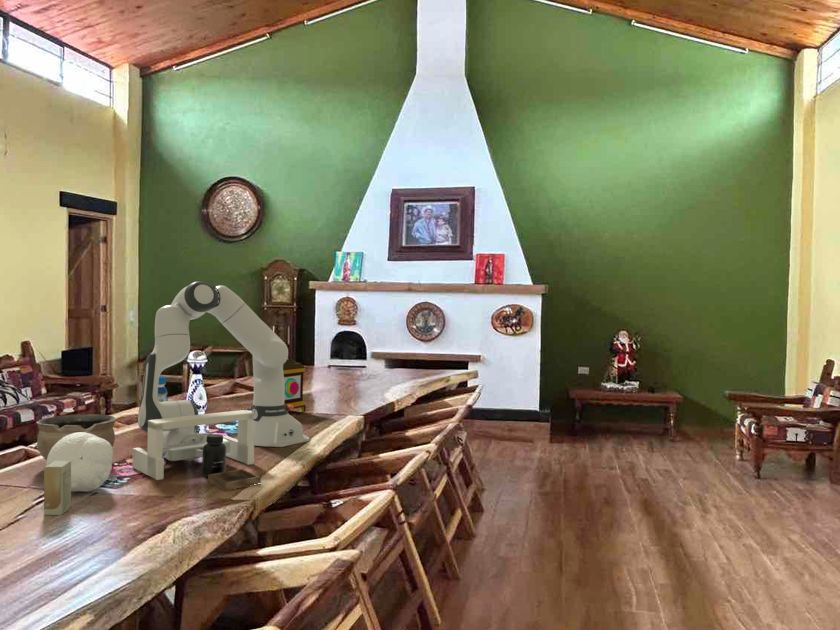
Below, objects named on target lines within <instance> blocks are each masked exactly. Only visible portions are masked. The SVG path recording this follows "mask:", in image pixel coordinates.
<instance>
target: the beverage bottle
mask: <svg viewBox="0 0 840 630" xmlns="http://www.w3.org/2000/svg"><path fill="white" fill-rule="evenodd" d="M166 383H167V377H166V376H165V375H161V374H160V376H159V383H158V394H157V400H158V401H159V402H166V401H169V399H168V395H169V394H168V390H167V388H166V386H165V385H166Z"/></svg>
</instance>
